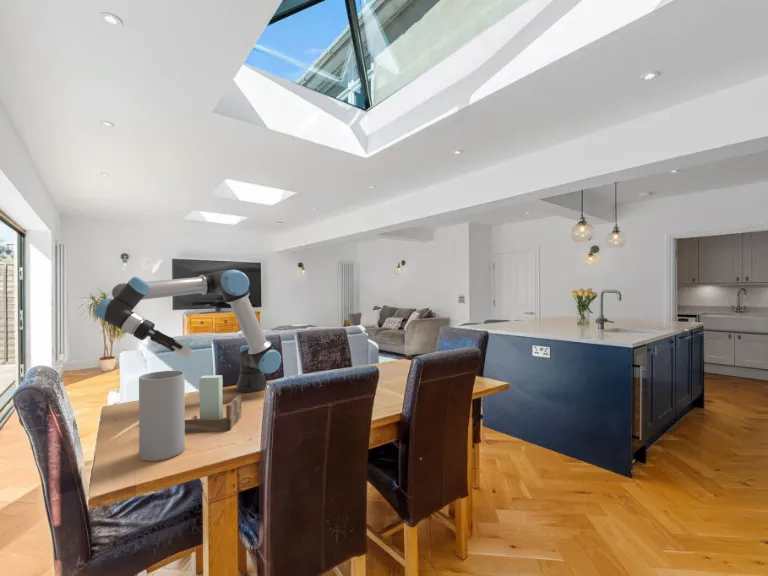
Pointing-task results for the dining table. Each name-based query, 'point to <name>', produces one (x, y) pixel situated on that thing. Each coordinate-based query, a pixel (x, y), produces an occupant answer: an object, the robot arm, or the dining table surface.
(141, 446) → the cylinder vase
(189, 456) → the dining table surface
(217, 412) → the pale green block
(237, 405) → the tray
